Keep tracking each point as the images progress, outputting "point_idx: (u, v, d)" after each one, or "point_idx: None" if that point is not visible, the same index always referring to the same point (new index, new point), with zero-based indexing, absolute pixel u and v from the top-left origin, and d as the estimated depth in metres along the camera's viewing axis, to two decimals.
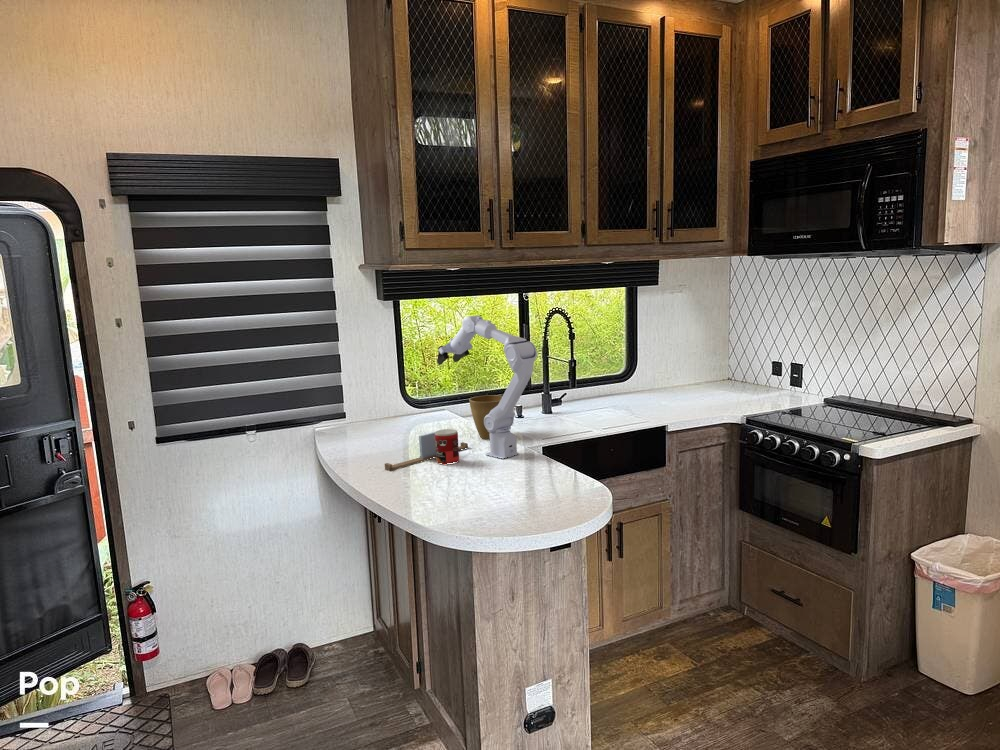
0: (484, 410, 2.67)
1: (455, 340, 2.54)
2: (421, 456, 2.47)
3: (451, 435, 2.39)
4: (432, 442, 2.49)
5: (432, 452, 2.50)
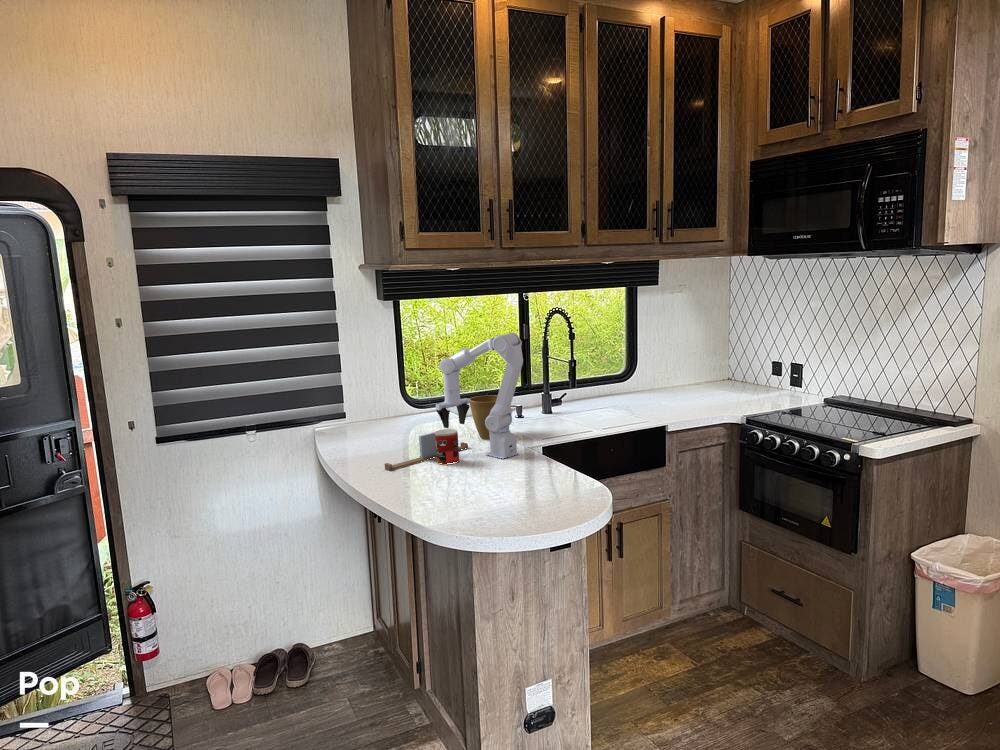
0: (484, 410, 2.67)
1: (445, 392, 2.53)
2: (421, 456, 2.47)
3: (451, 435, 2.39)
4: (432, 442, 2.49)
5: (432, 452, 2.50)
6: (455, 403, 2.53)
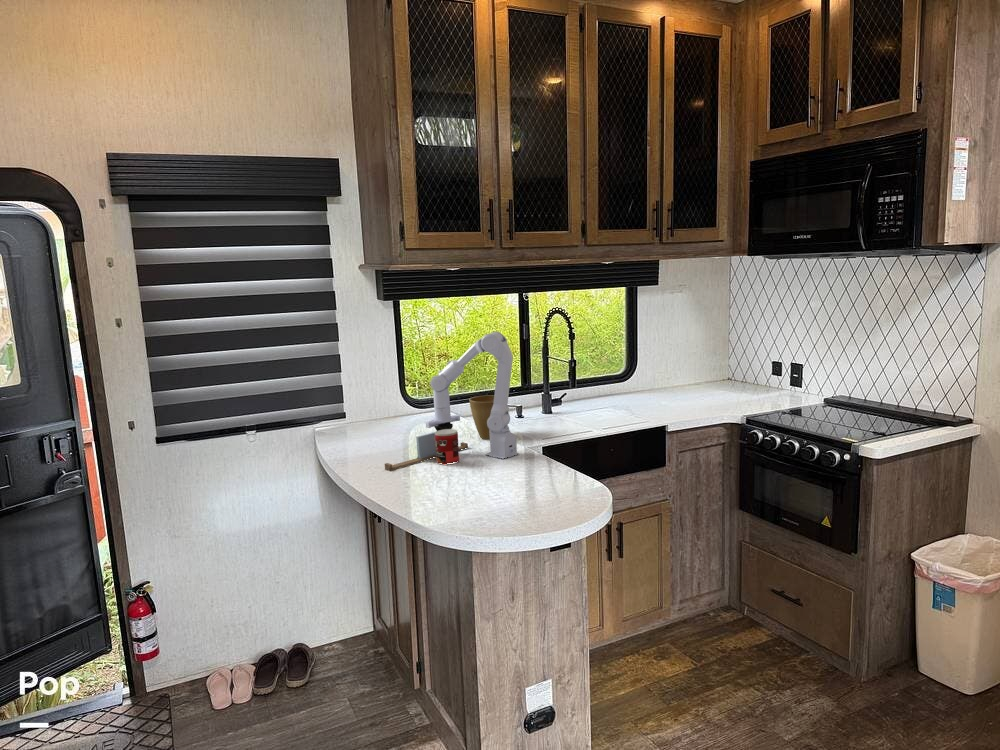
0: (484, 410, 2.67)
1: (435, 409, 2.50)
2: (418, 457, 2.46)
3: (451, 435, 2.39)
4: (429, 443, 2.48)
5: (429, 453, 2.49)
6: (445, 421, 2.50)
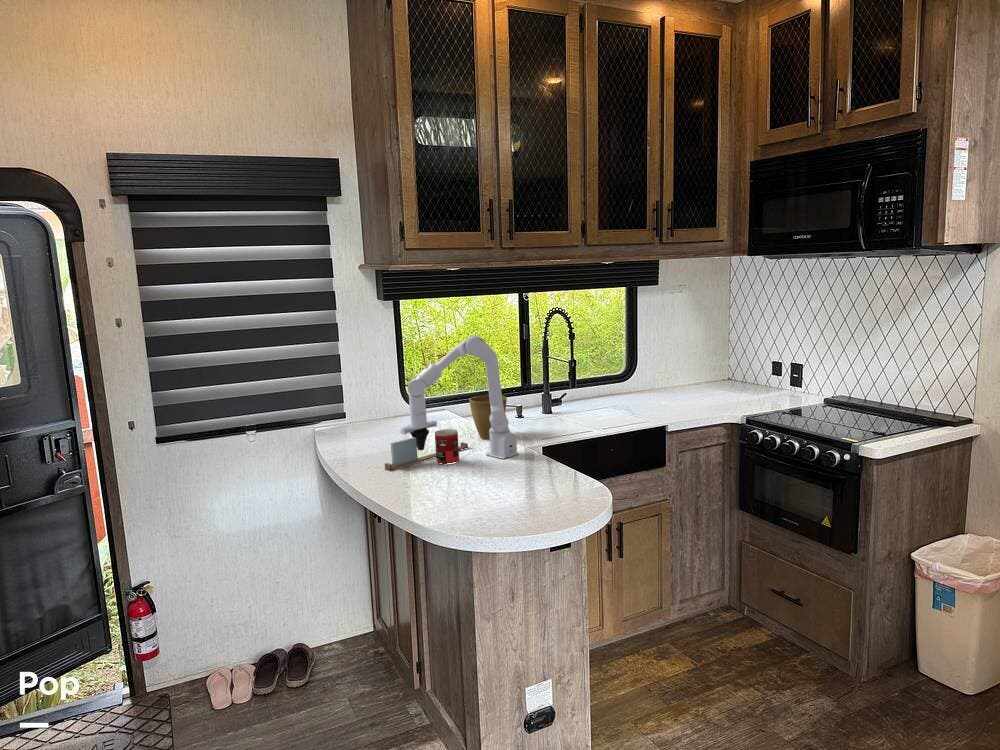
0: (484, 410, 2.67)
1: (411, 415, 2.43)
2: (393, 464, 2.39)
3: (451, 435, 2.39)
4: (405, 449, 2.41)
5: (405, 460, 2.41)
6: (421, 426, 2.43)
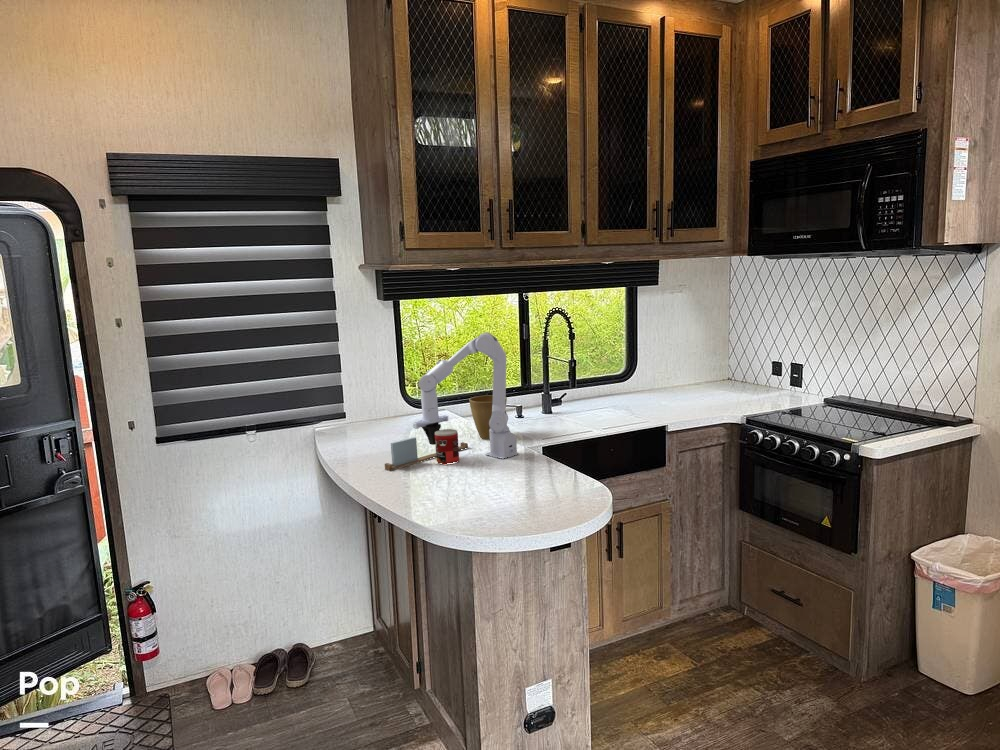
0: (484, 410, 2.67)
1: (423, 410, 2.46)
2: (393, 464, 2.39)
3: (451, 435, 2.39)
4: (405, 449, 2.41)
5: (405, 460, 2.41)
6: (433, 421, 2.46)
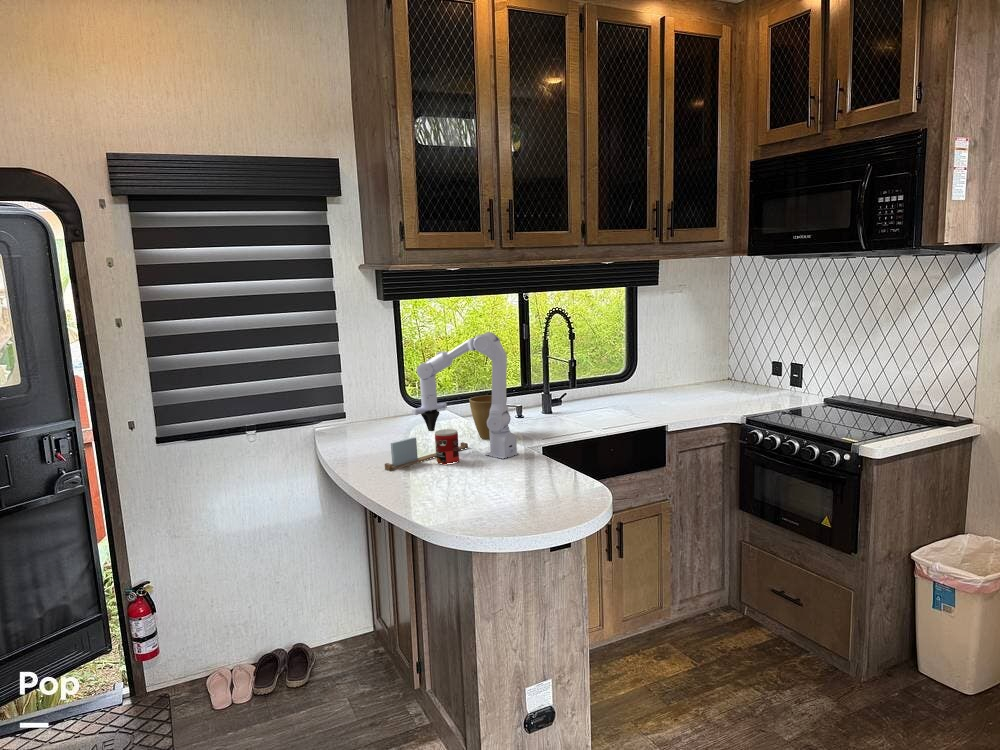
0: (484, 410, 2.67)
1: (422, 397, 2.52)
2: (393, 464, 2.39)
3: (451, 435, 2.39)
4: (405, 449, 2.41)
5: (405, 460, 2.41)
6: (432, 408, 2.52)
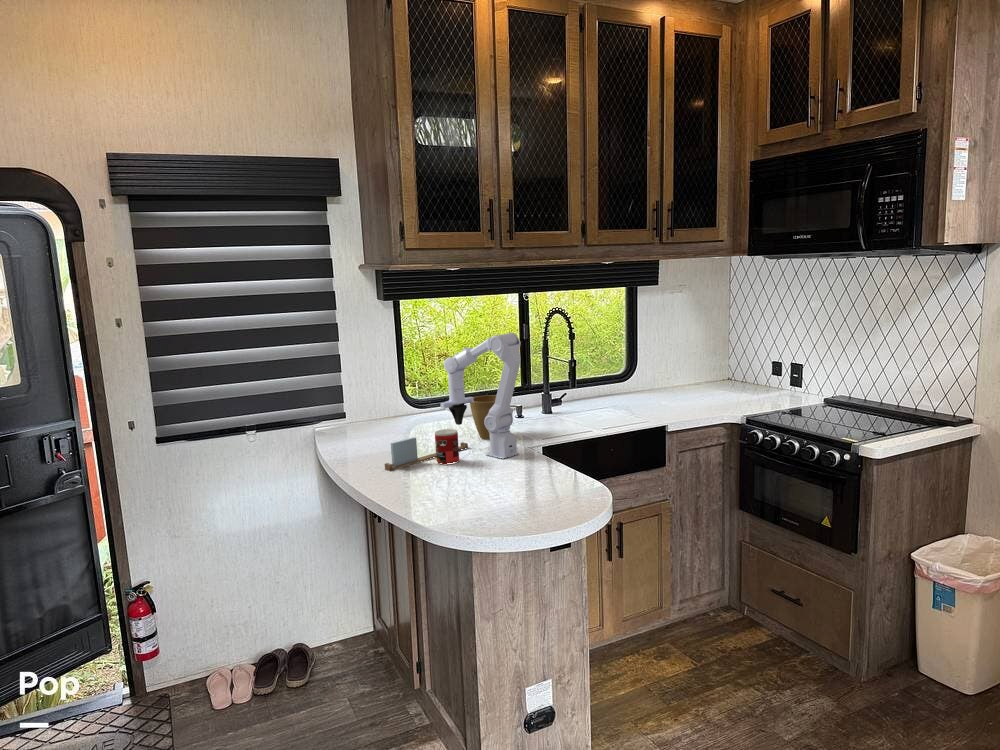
0: (484, 410, 2.67)
1: (450, 391, 2.56)
2: (393, 464, 2.39)
3: (451, 435, 2.39)
4: (405, 449, 2.41)
5: (405, 460, 2.41)
6: (460, 402, 2.55)
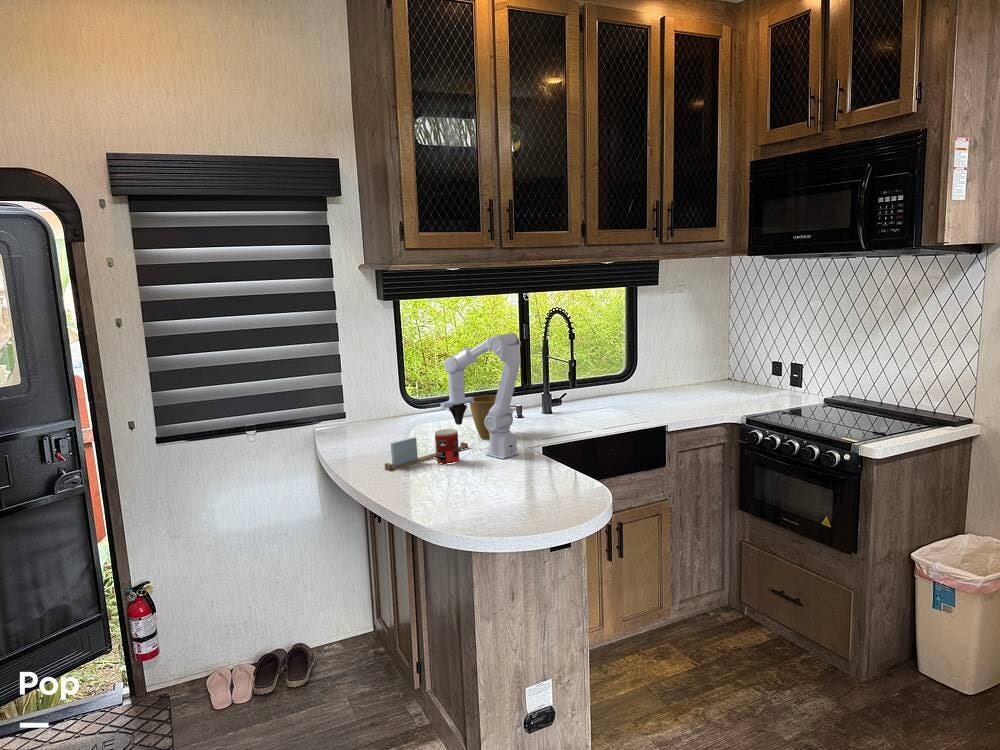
0: (484, 410, 2.67)
1: (450, 391, 2.56)
2: (393, 464, 2.39)
3: (451, 435, 2.39)
4: (405, 449, 2.41)
5: (405, 460, 2.41)
6: (460, 402, 2.55)
